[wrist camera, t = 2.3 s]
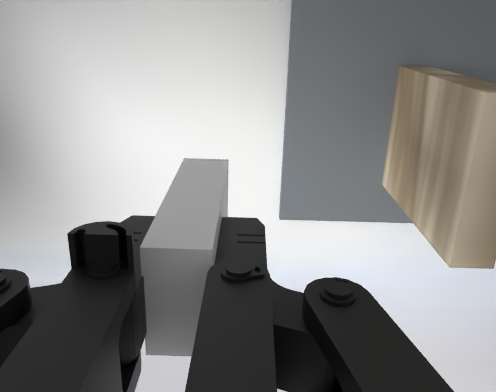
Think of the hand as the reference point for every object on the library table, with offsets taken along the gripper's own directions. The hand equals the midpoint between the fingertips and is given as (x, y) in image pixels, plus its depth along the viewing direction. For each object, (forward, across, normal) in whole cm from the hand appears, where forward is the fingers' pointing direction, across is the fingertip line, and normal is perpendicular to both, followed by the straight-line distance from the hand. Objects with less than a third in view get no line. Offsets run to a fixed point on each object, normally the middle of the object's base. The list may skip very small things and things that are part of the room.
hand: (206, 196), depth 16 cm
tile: (+12, +10, 0) cm, 16 cm away
